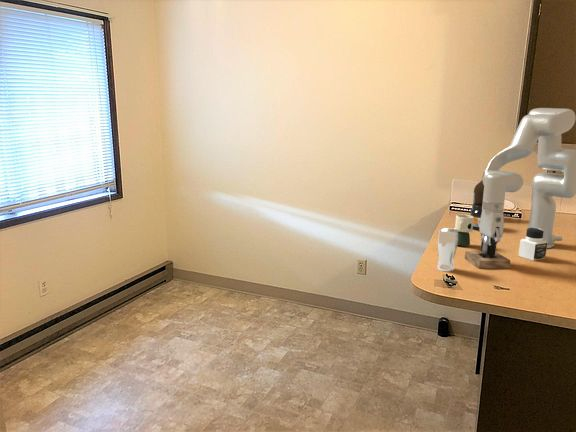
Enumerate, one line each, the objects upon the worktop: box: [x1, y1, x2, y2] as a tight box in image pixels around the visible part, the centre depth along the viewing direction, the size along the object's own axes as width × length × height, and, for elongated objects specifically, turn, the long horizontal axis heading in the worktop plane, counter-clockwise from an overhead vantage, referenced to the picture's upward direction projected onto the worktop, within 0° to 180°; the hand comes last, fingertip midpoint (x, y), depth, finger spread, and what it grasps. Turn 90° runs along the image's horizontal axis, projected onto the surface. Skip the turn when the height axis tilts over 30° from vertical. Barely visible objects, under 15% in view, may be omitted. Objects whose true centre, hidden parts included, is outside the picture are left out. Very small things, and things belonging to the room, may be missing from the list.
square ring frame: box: [464, 250, 511, 269], centre depth 191 cm, size 12×12×3 cm
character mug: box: [454, 214, 474, 247], centre depth 213 cm, size 11×7×13 cm, turn 145°
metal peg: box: [482, 235, 495, 258], centre depth 190 cm, size 4×4×10 cm
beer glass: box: [436, 227, 458, 273], centre depth 182 cm, size 7×7×15 cm
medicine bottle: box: [518, 227, 548, 262], centre depth 198 cm, size 7×7×12 cm
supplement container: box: [469, 203, 482, 232], centre depth 243 cm, size 10×10×12 cm
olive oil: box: [472, 171, 485, 204], centre depth 261 cm, size 11×11×25 cm
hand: (487, 252), depth 191 cm, fingers closed on metal peg, 3 cm apart
